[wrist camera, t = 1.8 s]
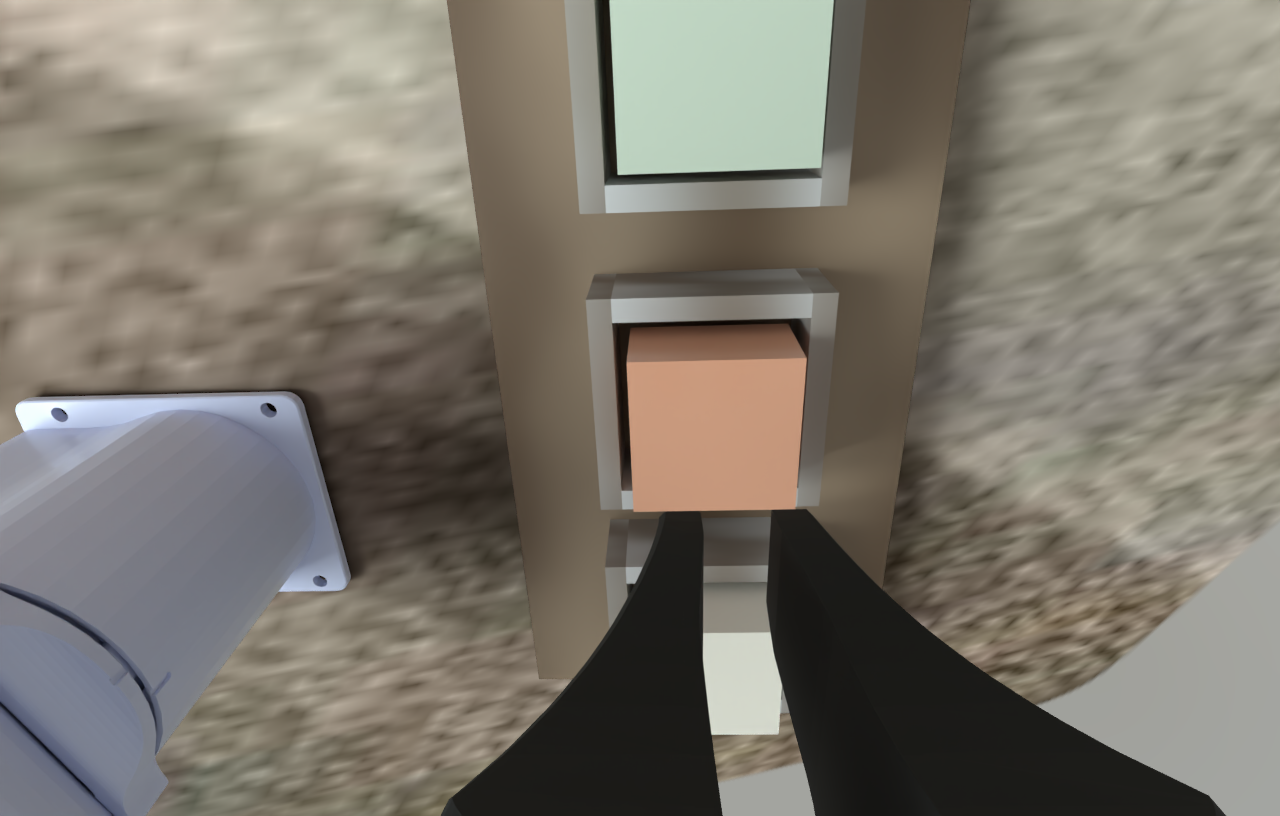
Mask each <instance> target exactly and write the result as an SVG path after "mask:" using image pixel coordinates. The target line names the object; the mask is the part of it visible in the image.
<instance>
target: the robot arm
mask: <svg viewBox="0 0 1280 816" xmlns="http://www.w3.org/2000/svg"><path fill="white" fill-rule="evenodd" d="M267 403H270V404H272V405H273V406H275V408H276V410H277V412H273V411H271V410H270V409H269V408H268V406H267ZM61 409H63V410H64V411H65V412H66V413H67V415H68V416H67V415H66V414H64V413H63V411H62V410H61ZM15 411H16V414H17V417H18V419H19V421H20V423H21V425H22V428H23V430H24V432H23V433H21V434H19V435H17V436H16V437H14V438H12V439H10V440H8V441H6V442H5V443H3V444H1V445H0V816H146V814H147V813H148V812H149V810H150V809H151V807H152V806H153V804H154V803H155V802H156V800H157V799H158V797H159V796H160V794H161V793H162V792H163V790H164V789H165V787H166V786H167V784H168V779H167V778H166V777H165V775H164V774H163V773H162V772H161V770H160V768H159V766H158V764H157V762H156V759H155V756H156V755H157V754H158V752H159V751H160V750H161V748H162V747H163V746H164V744H165V743H166V742H167V740H168V739H169V738H170V736H171V735H172V733H173V732H174V731H175V729H176V728H177V727H178V725H179V724H180V723H181V721H182V720H183V719H184V717H185V716H186V715H187V713H188V712H189V711H190V709H191V708H192V707H193V705H194V704H195V703H196V701H197V700H198V699H199V697H200V696H201V695H202V693H203V692H204V691H205V689H206V688H207V687H208V685H209V684H210V683H211V681H212V680H213V679H214V677H215V676H216V675H217V673H218V672H219V671H220V669H221V668H222V666H223V665H224V664H225V662H226V661H227V660H228V658H229V657H230V656H231V654H232V653H233V652H234V650H235V649H236V648H237V646H238V645H239V644H240V642H241V641H242V640H243V638H244V637H245V636H246V634H247V633H248V632H249V630H250V629H251V628H252V626H253V625H254V624H255V622H256V621H257V620H258V618H259V617H260V616H261V614H262V613H263V612H264V610H265V609H266V608H267V606H268V605H269V604H270V602H271V601H272V599H273V598H274V597H275V595H276V594H277V593H278V592H282V591H339V590H343V589H344V588H346V586H347V584H348V583H349V581H350V579H351V574H350V571H349V567H348V563H347V560H346V556H345V553H344V549H343V545H342V542H341V538H340V534H339V531H338V527H337V523H336V520H335V516H334V513H333V509H332V505H331V502H330V498H329V494H328V491H327V487H326V483H325V480H324V476H323V472H322V469H321V465H320V462H319V458H318V454H317V451H316V447H315V443H314V440H313V436H312V432H311V429H310V425H309V422H308V418H307V414H306V411H305V407H304V404H303V402H302V400H301V399H300V398H299V397H298V396H297V395H295V394H293V393H291V392H286V391H279V392H236V393H193V394H150V395H107V396H63V397H31V398H27V399H25V400H23V401H21V402H19V403H18V404H17V405H16V409H15ZM703 571H704V531H703V525H702V519H701V513H700V511H665V512H664V513H663V514H662V515H661V516H660V517H659V523H658V527H657V531H656V535H655V538H654V541H653V544H652V547H651V549H650V552H649V554H648V557H647V559H646V561H645V564H644V566H643V568H642V570H641V572H640V574H639V576H638V579H637V581H636V583H635V585H634V587H633V589H632V591H631V593H630V594H629V596H628V598H627V600H626V601H625V603H624V605H623V607H622V608H621V610H620V612H619V614H618V615H617V617H616V619H615V621H614V622H613V624H612V625H611V627H610V629H609V630H608V632H607V633H606V635H605V636H604V638H603V639H602V641H601V642H600V644H599V645H598V646H597V648H596V649H595V651H594V652H593V653H592V655H591V656H590V658H589V659H588V660H587V662H586V663H585V664H584V666H583V667H582V668H581V669H580V671H579V672H578V673H577V674H576V676H575V677H574V678H573V679H572V681H571V682H570V683H569V684H568V686H567V687H566V688H565V689H564V690H563V692H562V693H561V694H560V695H559V696H558V697H557V699H556V700H555V701H554V702H553V703H552V704H551V705H550V706H549V708H548V709H547V710H546V711H545V712H544V713H543V714H542V715H541V716H540V717H539V718H538V719H537V720H536V721H535V722H534V723H533V724H532V725H531V726H530V727H529V728H528V729H527V730H526V731H525V732H524V733H523V734H522V735H521V736H520V737H519V738H518V739H517V740H516V741H515V742H514V743H513V744H512V745H511V746H510V747H509V748H508V749H507V750H506V751H505V752H504V753H503V754H502V755H501V756H499V757H498V758H497V759H496V760H495V761H494V762H493V763H491V764H490V765H489V766H488V767H487V768H486V769H484V770H483V771H482V772H481V773H480V774H479V775H477V776H476V777H475V778H474V779H473V780H472V781H470V782H469V783H468V784H467V785H466V786H465V787H463V788H462V789H461V790H460V791H459V792H458V793H456V794H455V795H454V796H453V797H451V798H450V799H449V801H448V803H447V804H446V806H445V808H444V810H443V812H442V814H441V816H723V815H722V808H721V802H720V795H719V787H718V780H717V773H716V766H715V759H714V751H713V743H712V735H711V727H710V718H709V710H708V702H707V693H706V684H705V675H704V665H703ZM319 576H323V577H324V578H326V580H324V579H322V578H320V577H319ZM766 604H767V611H768V618H769V626H770V632H771V639H772V645H773V652H774V657H775V660H776V664H777V668H778V672H779V675H780V679H781V683H782V687H783V690H784V694H785V698H786V701H787V705H788V709H789V712H790V716H791V720H792V723H793V727H794V731H795V734H796V738H797V742H798V745H799V749H800V753H801V756H802V760H803V763H804V767H805V771H806V774H807V778H808V783H809V787H810V792H811V796H812V800H813V805H814V811H815V815H816V816H1226V815H1225V814H1224V813H1223V812H1222V810H1221V809H1220V808H1219V807H1218V806H1217V805H1216V804H1215V802H1214V801H1213V800H1212V799H1211V798H1210V797H1209V796H1208V795H1206V794H1204V793H1202V792H1200V791H1198V790H1196V789H1194V788H1192V787H1189V786H1188V785H1186V784H1183V783H1181V782H1179V781H1177V780H1175V779H1173V778H1171V777H1169V776H1167V775H1165V774H1163V773H1161V772H1158V771H1157V770H1155V769H1153V768H1150V767H1148V766H1146V765H1144V764H1142V763H1140V762H1138V761H1136V760H1134V759H1132V758H1130V757H1128V756H1126V755H1124V754H1122V753H1119V752H1118V751H1116V750H1114V749H1112V748H1110V747H1108V746H1106V745H1104V744H1103V743H1101V742H1099V741H1097V740H1095V739H1094V738H1092V737H1090V736H1088V735H1086V734H1084V733H1083V732H1081V731H1079V730H1077V729H1076V728H1074V727H1072V726H1070V725H1068V724H1066V723H1065V722H1063V721H1061V720H1059V719H1058V718H1056V717H1054V716H1053V715H1051V714H1049V713H1048V712H1046V711H1044V710H1042V709H1041V708H1039V707H1038V706H1036V705H1034V704H1033V703H1031V702H1029V701H1028V700H1026V699H1025V698H1023V697H1022V696H1020V695H1018V694H1017V693H1015V692H1014V691H1012V690H1011V689H1009V688H1008V687H1006V686H1005V685H1003V684H1002V683H1000V682H998V681H997V680H995V679H994V678H992V677H991V676H989V675H988V674H986V673H985V672H983V671H982V670H981V669H979V668H978V667H976V666H975V665H973V664H972V663H971V662H969V661H968V660H966V659H965V658H964V657H962V656H961V655H960V654H959V653H957V652H956V651H955V650H953V649H952V648H951V647H949V646H948V645H947V644H945V643H944V642H943V641H941V640H940V639H939V638H937V637H936V636H935V635H933V634H932V633H931V632H930V631H929V630H927V629H926V628H925V627H924V626H922V625H921V624H920V623H919V622H918V621H916V620H915V619H914V618H913V617H912V616H911V615H910V614H909V613H907V612H906V611H905V610H904V609H903V608H902V607H901V606H899V605H898V604H897V603H896V602H895V601H894V600H893V599H892V598H891V597H890V596H889V595H888V594H887V593H885V592H884V591H883V590H882V589H881V588H880V587H879V586H878V585H877V584H876V583H875V582H874V581H873V580H872V579H871V578H870V577H869V576H868V575H867V574H866V573H865V572H864V571H863V570H862V569H861V568H860V567H859V566H858V565H857V564H856V562H855V561H854V560H853V559H852V558H851V557H850V556H849V555H848V554H847V553H846V552H845V551H844V550H843V549H842V547H841V546H840V545H839V544H838V543H837V542H836V541H835V540H834V539H833V538H832V536H831V535H830V534H829V533H828V532H827V531H826V530H825V529H824V527H823V526H822V525H821V524H820V523H819V522H818V521H817V519H816V518H815V517H814V516H813V515H812V514H811V513H810V512H809V511H808V510H807V509H779V510H771V525H770V542H769V559H768V577H767V594H766Z"/></svg>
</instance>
